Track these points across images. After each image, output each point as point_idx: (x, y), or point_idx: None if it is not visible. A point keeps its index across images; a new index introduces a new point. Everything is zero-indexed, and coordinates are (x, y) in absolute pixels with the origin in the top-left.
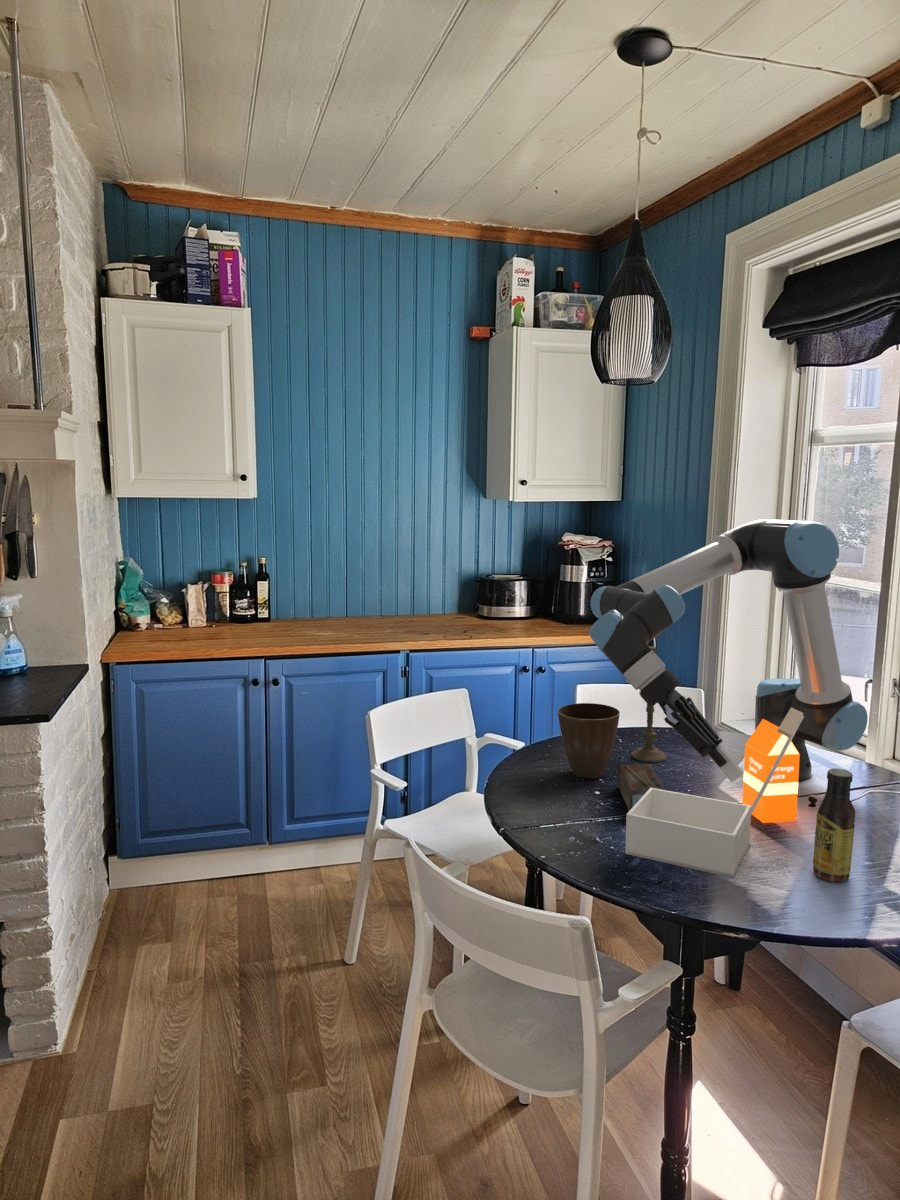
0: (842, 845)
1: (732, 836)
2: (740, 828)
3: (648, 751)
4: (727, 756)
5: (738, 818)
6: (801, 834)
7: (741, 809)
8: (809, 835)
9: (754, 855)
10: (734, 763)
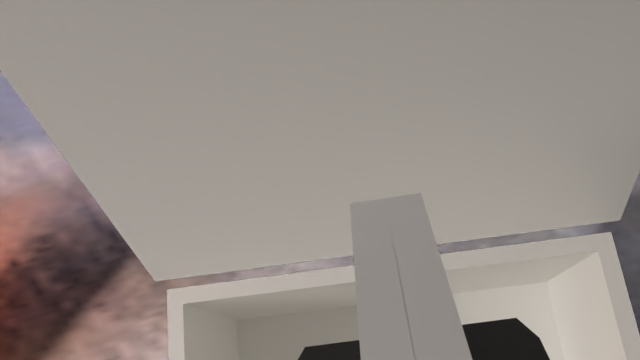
0: None
1: (611, 245)
2: (630, 190)
3: None
4: (440, 327)
5: (209, 350)
6: (45, 183)
7: (192, 335)
8: (42, 159)
9: (313, 265)
10: (405, 260)
